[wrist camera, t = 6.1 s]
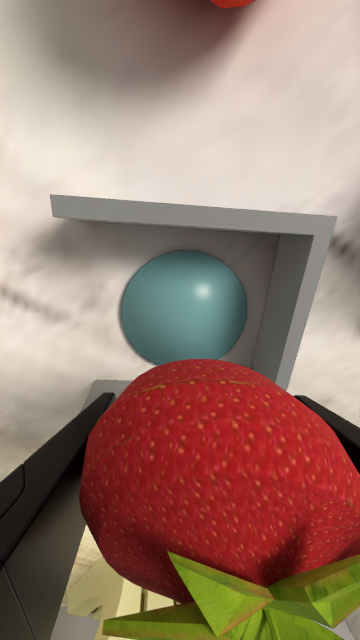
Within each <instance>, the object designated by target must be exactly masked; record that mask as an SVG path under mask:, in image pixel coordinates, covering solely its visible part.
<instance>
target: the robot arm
mask: <svg viewBox="0 0 360 640" xmlns="http://www.w3.org/2000/svg"><path fill="white" fill-rule="evenodd" d="M293 397H295V398H296V399H297V400H299V401H300V402H302V403H303V404H304V405H306V406H307V407H308V408H310V409H311V410H312V411H314V412H315V413H316V414H318V415H319V416H320V417H321V418H322V419H323V420H324V421H325V422H326V423H327V424H328V425H329V426H330V428H331V429H332V430H333V431H334V432H335V434H336V436H337V437H338V439H339V441H340V442H341V444H342V446H343V448H344V449H345V451H346V453H347V454H348V456H349V458H350V459H351V461H352V463H353V464H354V466H355V468H356V470H357V471H358V473H359V475H360V428H359V427H357V426H356V425H354V424H352V423H350V422H349V421H347V420H345V419H344V418H342V417H340V416H339V415H337V414H335V413H333V412H332V411H330V410H328V409H327V408H325V407H323V406H321V405H320V404H318V403H316V402H315V401H313V400H311V399H310V398H308V397H306V396H303V395H295V396H293ZM115 400H116V396H115V393H114V392H104V393H102V394H101V395H100V396H99V397H98V398H97V399H95V400H94V401H93V402H92V403H91V404H90V405H89V406H87V407H86V408H85V409H84V410H83V411H82V412H81V413H79V414H78V415H77V416H76V417H75V418H74V419H73V420H71V421H70V422H69V423H68V424H67V425H66V426H65V427H63V428H62V429H61V430H60V431H59V432H58V433H56V434H55V435H54V436H53V437H52V438H51V439H50V440H48V441H47V442H46V443H45V444H44V445H43V446H42V447H40V448H39V449H38V450H37V451H36V452H35V453H34V454H32V455H31V456H30V457H29V458H28V459H27V460H26V461H24V464H21V465H20V466H18V467H17V468H16V469H15V470H14V471H13V472H12V473H10V474H9V475H8V476H7V477H6V478H5V479H3V480H2V481H1V482H0V640H50V637H51V634H52V631H53V628H54V625H55V622H56V618H57V615H58V612H59V609H60V606H61V603H62V599H63V596H64V593H65V590H66V587H67V584H68V580H69V577H70V574H71V571H72V568H73V565H74V561H75V558H76V555H77V552H78V549H79V545H80V542H81V539H82V536H83V533H84V530H85V526H86V522H85V520H84V518H83V516H82V514H81V508H80V502H79V493H80V486H81V479H82V471H83V464H84V457H85V451H86V446H87V442H88V437H89V434H90V432H91V431H92V429H93V427H94V426H95V424H96V423H97V421H98V419H99V418H100V417H101V416H102V415H103V414H104V412H105V411H106V410H107V409H108V408H109V407H110V406H111V404H112V403H113V402H114V401H115Z"/></svg>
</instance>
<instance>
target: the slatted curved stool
mask: <svg viewBox="0 0 360 640" xmlns="http://www.w3.org/2000/svg"><path fill="white" fill-rule="evenodd" d="M66 596H67V614H69V615H74V616H80V617H86V616H87V615H88V614H89V613H91V619H95V620H100V624H99V626H98V630H97V632H96V635H95V638H94V640H135V639H127V638H120V637H113V636H105V635H102V630H103V622H104V620H105V619H110V618H115V617H120V616H125V615H130V614H134V613H139V612H144V611H149V610H154V609H159V608H163V607H168V606H173V605H178V604H180V603H178V602H176V601H174V600H172V599H170V598H167V597H164V596H162V595H159V594H156V593H154V592H151V591H149V590H146V589H144V588H142V587H140V586H137V585H135V584H133V583H131V582H130V581H128V580H127V579H125V578H123V577H122V576H120V575H119V574H118V573H117V572H116V571H114V570H113V569H112V568H111V567H110V566H109V565H108V564H107V562H106V561H105V559H104V557H102V558H101V559H100V560H99V561H98V562H97V563H96V564H95V565H94V566H93V567H92V568H91V569H90V570H89V571H88V572H87V573H86V574H85V575H84V576H83V577H82V578H81V579H80V580H79V581H78V582H77V583H76V584H75V585H74V586H72V587H71V588H70V589H69V590H68V591H67V592H66Z"/></svg>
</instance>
